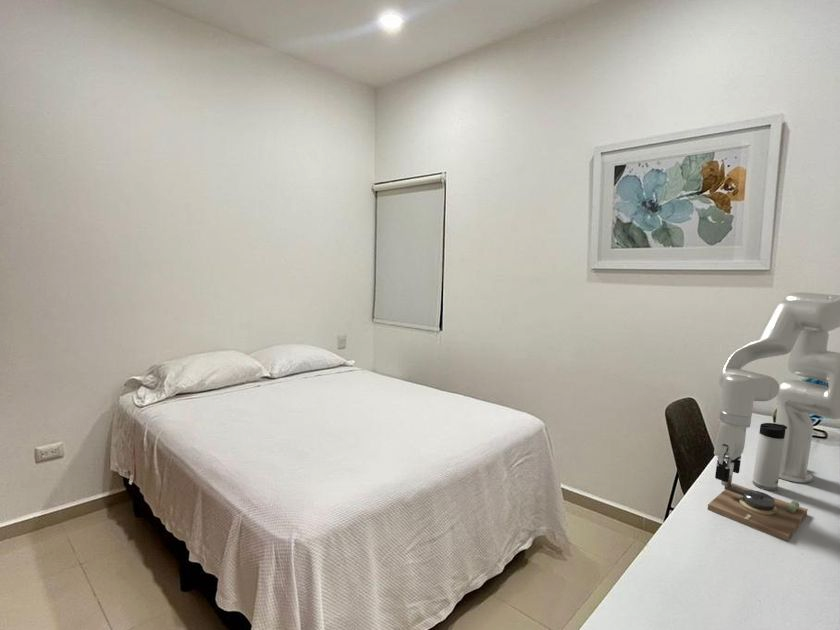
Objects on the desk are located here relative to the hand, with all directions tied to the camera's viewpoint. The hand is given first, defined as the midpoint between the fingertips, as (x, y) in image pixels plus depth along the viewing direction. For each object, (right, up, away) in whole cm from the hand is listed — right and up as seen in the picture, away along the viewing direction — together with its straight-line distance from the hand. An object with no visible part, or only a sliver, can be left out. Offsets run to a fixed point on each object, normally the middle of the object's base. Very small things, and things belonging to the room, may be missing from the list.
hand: (727, 475), depth 132 cm
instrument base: (+5, -8, -5) cm, 11 cm away
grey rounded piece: (+3, -5, -3) cm, 7 cm away
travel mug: (+18, -7, +10) cm, 22 cm away
